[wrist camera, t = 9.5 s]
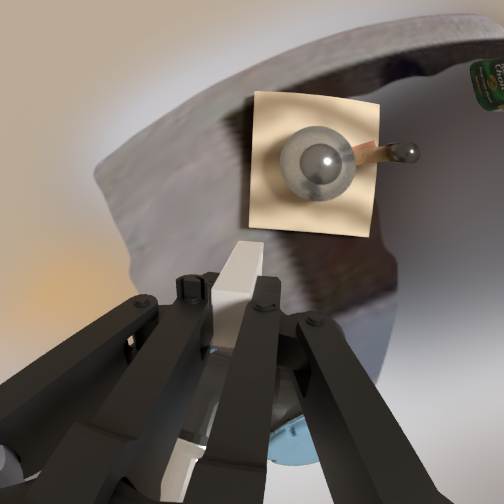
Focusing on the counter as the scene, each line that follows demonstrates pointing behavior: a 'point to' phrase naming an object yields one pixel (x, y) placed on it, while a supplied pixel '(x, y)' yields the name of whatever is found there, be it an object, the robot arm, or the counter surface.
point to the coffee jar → (489, 83)
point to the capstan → (331, 161)
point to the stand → (269, 173)
